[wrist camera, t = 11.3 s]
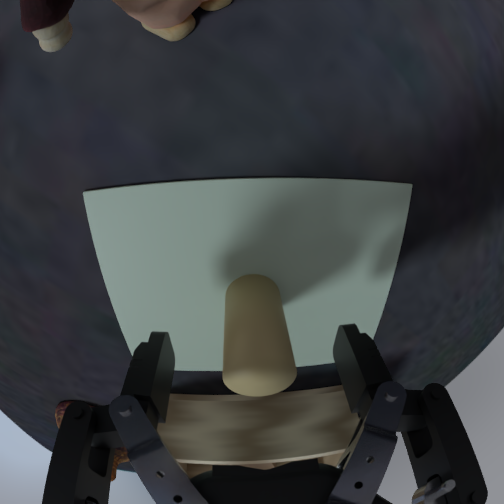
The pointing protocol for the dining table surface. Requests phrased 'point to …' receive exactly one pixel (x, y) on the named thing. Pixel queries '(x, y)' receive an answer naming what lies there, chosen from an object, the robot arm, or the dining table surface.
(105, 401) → the dining table surface
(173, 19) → the grandmother figurine
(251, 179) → the lid
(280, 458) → the box
